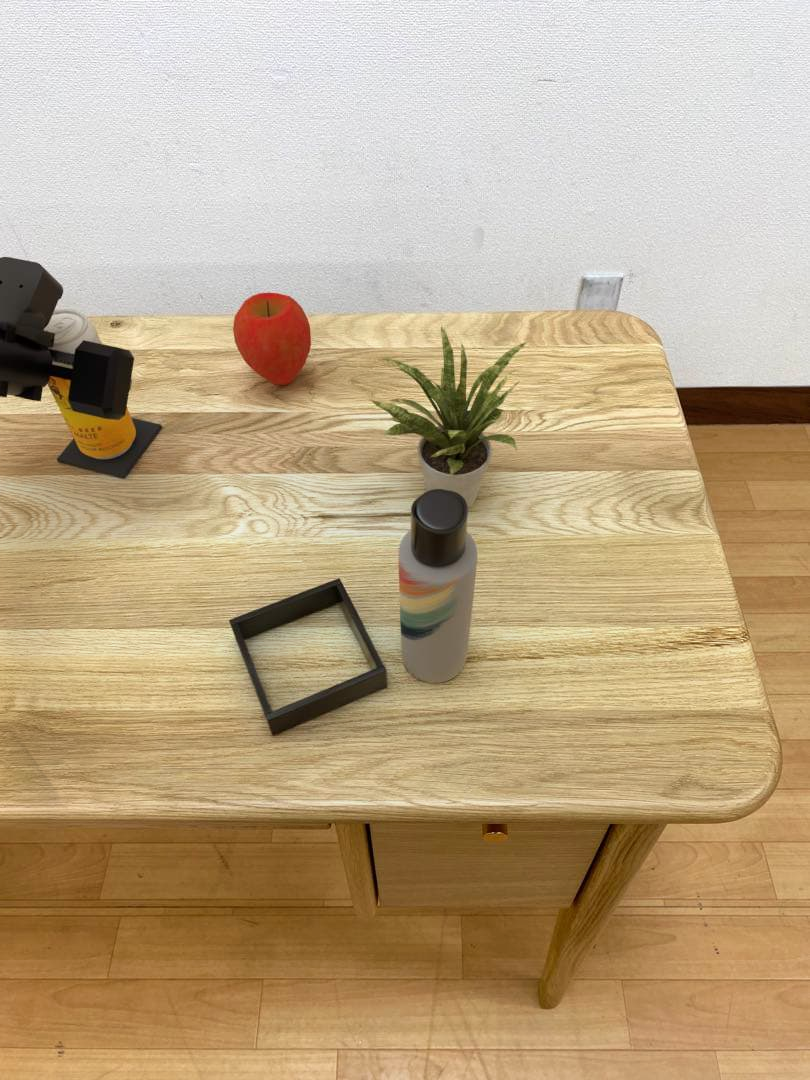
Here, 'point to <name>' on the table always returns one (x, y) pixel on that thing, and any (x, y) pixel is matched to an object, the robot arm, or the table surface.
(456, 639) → the lotion bottle
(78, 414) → the beer can
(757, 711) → the table surface
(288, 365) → the apple
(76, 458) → the mat
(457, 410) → the house plant
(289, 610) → the black square frame
